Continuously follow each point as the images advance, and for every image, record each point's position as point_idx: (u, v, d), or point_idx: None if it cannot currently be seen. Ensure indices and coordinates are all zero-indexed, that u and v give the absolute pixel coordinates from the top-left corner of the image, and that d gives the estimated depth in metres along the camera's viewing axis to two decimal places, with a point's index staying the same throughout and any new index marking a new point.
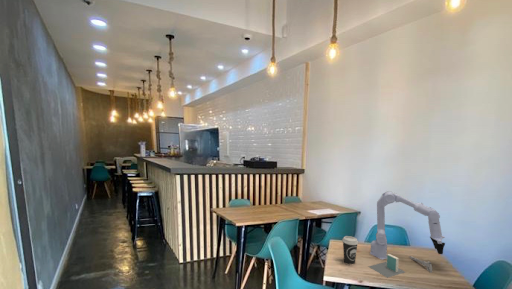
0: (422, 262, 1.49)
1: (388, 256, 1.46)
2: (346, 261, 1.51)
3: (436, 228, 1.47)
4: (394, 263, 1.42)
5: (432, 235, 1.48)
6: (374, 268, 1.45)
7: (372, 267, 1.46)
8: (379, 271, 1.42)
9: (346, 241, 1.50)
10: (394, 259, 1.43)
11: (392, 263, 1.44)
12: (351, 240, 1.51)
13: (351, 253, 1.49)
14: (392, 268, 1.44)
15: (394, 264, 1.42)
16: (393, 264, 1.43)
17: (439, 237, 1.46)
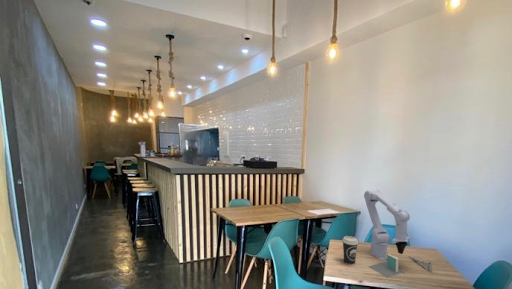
0: (422, 262, 1.49)
1: (388, 256, 1.46)
2: (346, 261, 1.51)
3: (398, 229, 1.46)
4: (394, 263, 1.42)
5: None
6: (374, 268, 1.45)
7: (372, 267, 1.46)
8: (379, 271, 1.42)
9: (346, 241, 1.50)
10: (394, 259, 1.43)
11: (392, 263, 1.44)
12: (351, 240, 1.51)
13: (351, 253, 1.49)
14: (392, 268, 1.44)
15: (394, 264, 1.42)
16: (393, 264, 1.43)
17: (399, 239, 1.45)
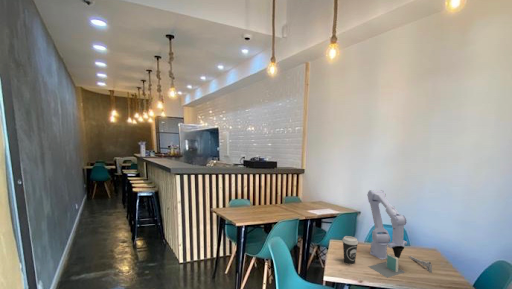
0: (422, 262, 1.49)
1: (388, 256, 1.46)
2: (346, 261, 1.51)
3: (394, 233, 1.46)
4: (394, 263, 1.42)
5: (392, 239, 1.47)
6: (374, 268, 1.45)
7: (372, 267, 1.46)
8: (379, 271, 1.42)
9: (346, 241, 1.50)
10: (394, 259, 1.43)
11: (392, 263, 1.44)
12: (351, 240, 1.51)
13: (351, 253, 1.49)
14: (392, 268, 1.44)
15: (394, 264, 1.42)
16: (393, 264, 1.43)
17: (396, 243, 1.44)
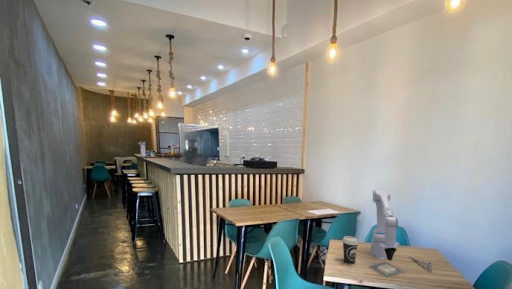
0: (422, 262, 1.49)
1: None
2: (346, 261, 1.51)
3: (385, 234, 1.44)
4: None
5: (384, 241, 1.45)
6: (374, 268, 1.45)
7: (372, 267, 1.46)
8: (379, 271, 1.42)
9: (346, 241, 1.50)
10: None
11: None
12: (351, 240, 1.51)
13: (351, 253, 1.49)
14: None
15: None
16: None
17: (388, 245, 1.41)
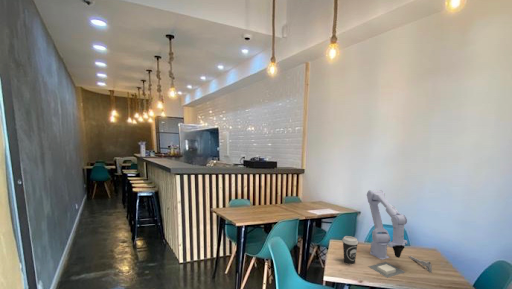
0: (422, 262, 1.50)
1: None
2: (346, 261, 1.51)
3: (394, 232, 1.46)
4: None
5: None
6: (374, 268, 1.45)
7: (372, 267, 1.46)
8: (379, 271, 1.42)
9: (346, 241, 1.50)
10: None
11: None
12: (351, 240, 1.51)
13: (351, 253, 1.49)
14: None
15: None
16: None
17: (396, 242, 1.45)
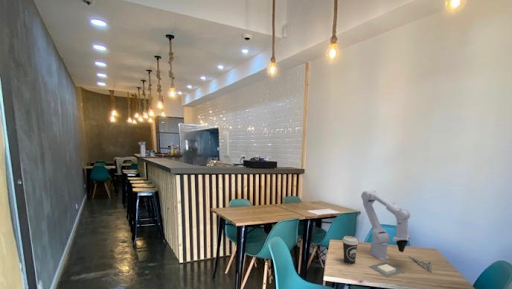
0: (422, 262, 1.50)
1: None
2: (346, 261, 1.51)
3: (399, 228, 1.48)
4: None
5: (396, 234, 1.50)
6: (374, 268, 1.45)
7: (372, 267, 1.46)
8: (379, 271, 1.42)
9: (346, 241, 1.50)
10: None
11: None
12: (351, 240, 1.51)
13: (351, 253, 1.49)
14: None
15: None
16: None
17: (400, 237, 1.47)
